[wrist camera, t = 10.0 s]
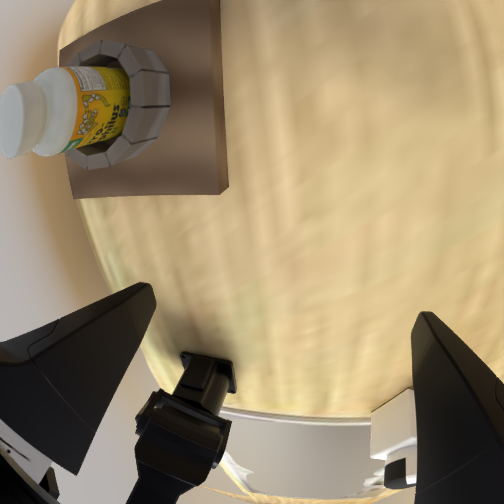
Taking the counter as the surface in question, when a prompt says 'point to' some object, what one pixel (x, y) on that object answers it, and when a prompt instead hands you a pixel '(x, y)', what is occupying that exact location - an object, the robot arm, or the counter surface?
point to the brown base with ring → (157, 104)
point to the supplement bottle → (64, 110)
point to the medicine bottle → (396, 440)
